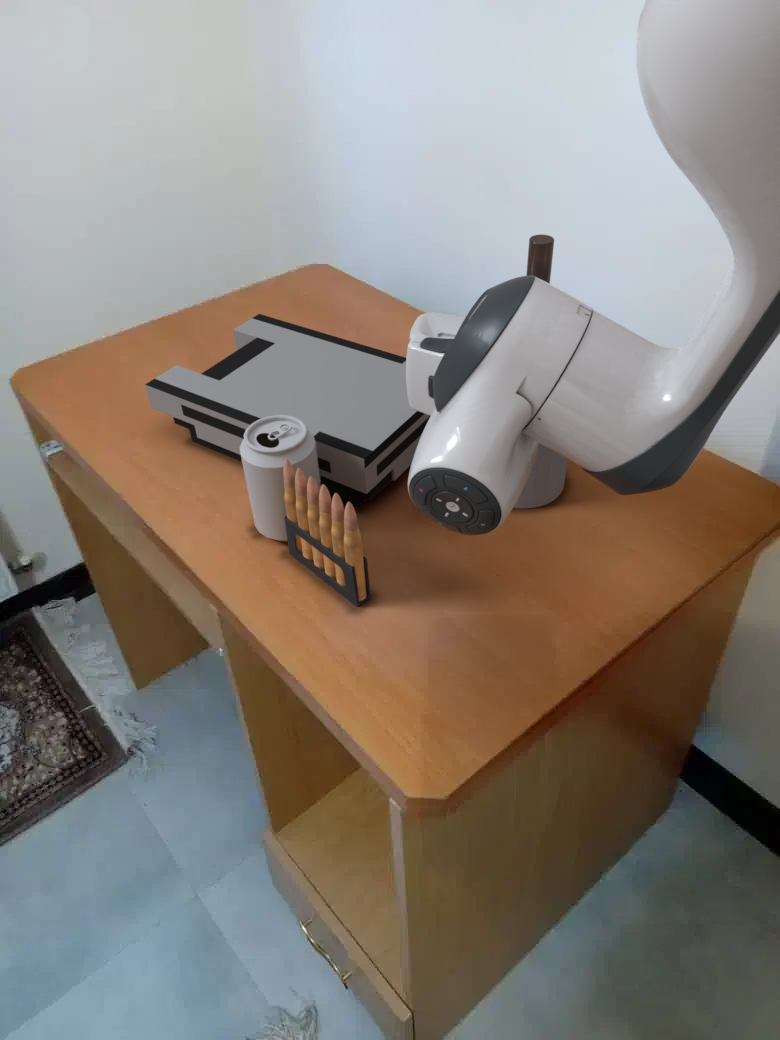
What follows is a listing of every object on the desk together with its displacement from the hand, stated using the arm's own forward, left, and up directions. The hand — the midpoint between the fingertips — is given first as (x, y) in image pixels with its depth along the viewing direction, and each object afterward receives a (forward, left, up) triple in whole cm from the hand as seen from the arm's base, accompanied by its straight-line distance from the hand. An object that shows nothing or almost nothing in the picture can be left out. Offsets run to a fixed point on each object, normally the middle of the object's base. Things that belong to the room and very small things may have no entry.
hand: (535, 316), depth 76 cm
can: (+22, +15, -20) cm, 33 cm away
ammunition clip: (+15, +21, -20) cm, 32 cm away
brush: (0, +1, -10) cm, 10 cm away
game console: (+27, -2, -20) cm, 33 cm away
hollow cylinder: (0, +1, -20) cm, 20 cm away
